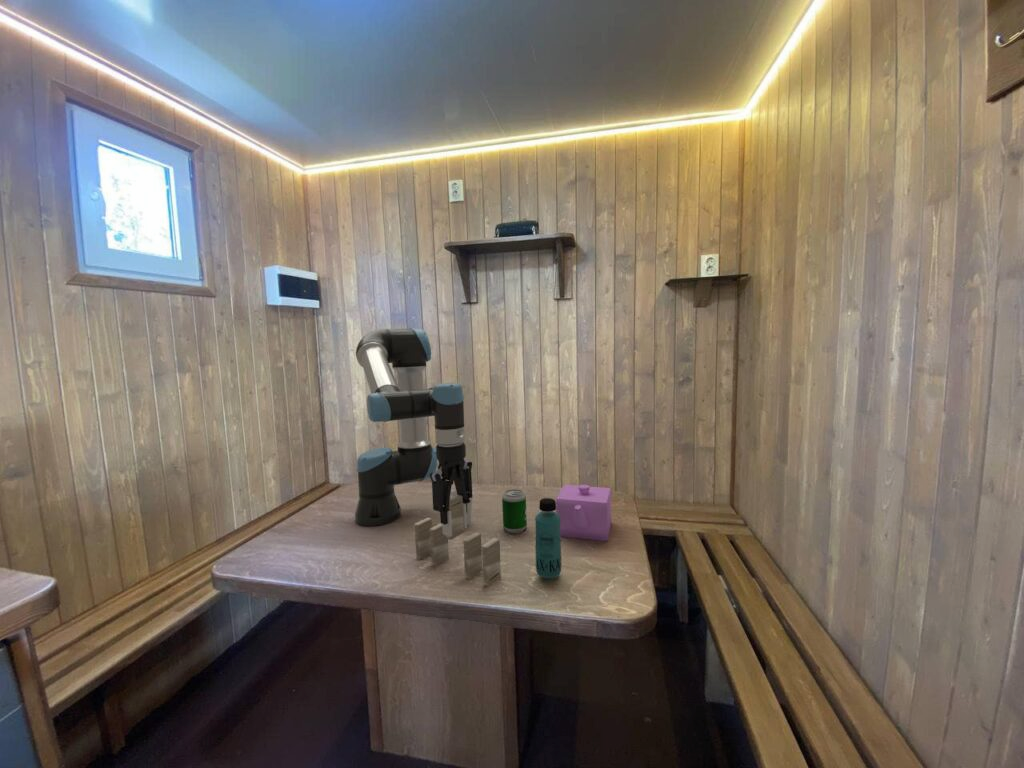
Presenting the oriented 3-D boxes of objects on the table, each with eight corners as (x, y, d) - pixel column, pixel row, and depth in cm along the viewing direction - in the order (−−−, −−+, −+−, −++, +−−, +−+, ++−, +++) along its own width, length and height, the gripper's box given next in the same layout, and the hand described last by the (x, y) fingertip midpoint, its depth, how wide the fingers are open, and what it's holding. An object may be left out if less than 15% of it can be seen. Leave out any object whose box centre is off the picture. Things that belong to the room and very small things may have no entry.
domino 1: (416, 558, 117) (414, 524, 116) (429, 551, 121) (427, 517, 120) (420, 560, 116) (418, 525, 115) (433, 552, 120) (431, 518, 119)
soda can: (524, 535, 129) (523, 497, 128) (500, 533, 131) (499, 496, 130) (528, 524, 137) (527, 488, 135) (506, 523, 138) (504, 487, 137)
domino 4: (465, 577, 107) (463, 540, 106) (477, 568, 111) (476, 532, 110) (469, 579, 106) (468, 541, 105) (482, 570, 110) (480, 533, 109)
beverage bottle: (534, 571, 109) (531, 496, 107) (559, 569, 109) (557, 494, 107) (537, 585, 102) (535, 505, 100) (564, 583, 103) (563, 504, 101)
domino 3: (446, 538, 109) (444, 500, 108) (459, 530, 113) (457, 494, 112) (451, 539, 108) (449, 501, 107) (464, 532, 112) (462, 495, 111)
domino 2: (431, 564, 114) (429, 528, 113) (444, 556, 118) (442, 522, 117) (435, 566, 113) (433, 530, 112) (448, 558, 117) (447, 523, 116)
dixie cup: (460, 530, 134) (459, 499, 133) (444, 523, 140) (442, 493, 139) (479, 521, 140) (478, 492, 139) (463, 515, 146) (462, 487, 145)
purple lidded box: (551, 547, 121) (550, 500, 120) (567, 513, 145) (566, 473, 144) (604, 553, 117) (604, 504, 115) (612, 517, 140) (612, 476, 139)
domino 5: (483, 585, 103) (481, 546, 102) (495, 575, 107) (494, 537, 106) (488, 587, 102) (487, 547, 101) (501, 577, 106) (499, 539, 105)
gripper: (435, 453, 99) (440, 548, 101) (484, 437, 114) (487, 521, 116) (413, 449, 103) (419, 540, 105) (463, 435, 118) (467, 515, 120)
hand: (455, 530), depth 111 cm, fingers closed on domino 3, 5 cm apart
